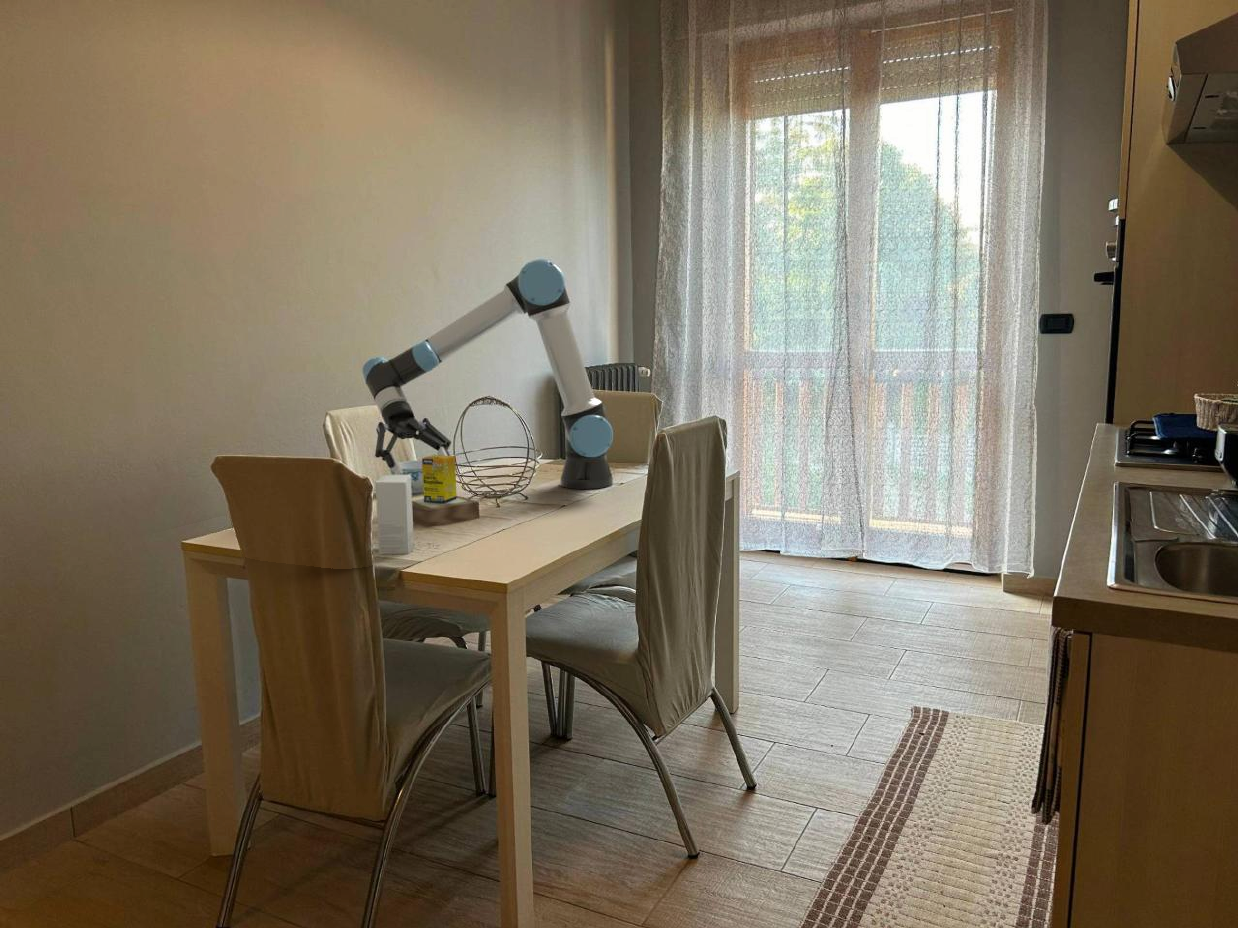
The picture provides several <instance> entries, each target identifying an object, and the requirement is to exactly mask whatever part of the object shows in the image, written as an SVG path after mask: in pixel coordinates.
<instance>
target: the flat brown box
mask: <svg viewBox="0 0 1238 928" xmlns="http://www.w3.org/2000/svg"><path fill="white" fill-rule="evenodd" d="M456 496H457V499H455V500H453V501H450V502H447V503H433V502H424V498H422V499H415V500H412V512H413V523H414V524H418V525H421V526H423V527H426V528H430V527H435V526H436V527H437V526H441V525H442V526H443V525H446V524H452V523H453V524H454V523H458V522H463V521H470V520H476V519H480V502H479V501H478V500H473V499H469V498H467V497H462V496H459V495H456Z"/></svg>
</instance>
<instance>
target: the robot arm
mask: <svg viewBox="0 0 1238 928" xmlns="http://www.w3.org/2000/svg"><path fill="white" fill-rule="evenodd" d="M565 284H566V283H565V277H564V273H563V272H562V270H561V269H560V267H559V266H558V265H556V264H555V263H554V262H553V261H551V260H547V259H542V258H541V259H540V258H539V259H533V260H532V261H529V262H526V264H525V265H524V266H523V267H522V268H521V269H520V272H519V273H518V275H517V276H515V277H514V278H513V279H512V280H510V281H509V282H506V284H504V287H503V290H502V291H500V292H498V293H496V294H495V295H493V296H492V297H491V298H489V299H487V300H486V301H484V302H482V303H481V304H480V305H478V306H476V307H475V308H473V309H472V310H470V311H468V312H467V313H465V314H464V315H463V316H461V317H459V318H458V319H456V320H455V321H453V322H451V323H450V324H448V325H447V326H445V327H443V328H441V329H440V330H439V331H437V332H435V333H433V335H431V336H429V337H428V338H427V339H425V340H423V341H422V342H420V343H419V342H418V343H417V344H415V345H413V346H412V347H410V348H408V349H406V350H405V351H402V352H401V353H399V354H398V355H396V356H394V357H393V358H391V359H386V358H385V357H382V356H377V357H376V358H374V357H373V358H370V359H368V360H367V361H366V362H365V363H364V365H363V366H362V369H361V372H362V375H363V378H364V381H365V384H366V386H367V387H368V389H369V391H370V394H371V396H372V397H373V400H374V402H375V404H376V405H377V406H376V407H377V408H378V410H379V413H380V415H381V417H382V420H383V421H384V423H385V424H384V423H383V422H382V421H379V422H378V423H377V426H376V428H375V430H376V433H377V439H376V446H375V447H376V448H375V453H374V456H375V458H380V457H381V460H382V461H384V462H385V463H386V465H387V466H388V468H389V469H390V468H392V469H393V471H394V473H395V475H403V471H402V469H401V466H400V464H399V462H400V461H399V460H398V458H397V456H396V454H395V452H394V451H392V450H393V448H394V445H395V444H396V442H397V440H398V439H401V440H405V439H415V440H419V441H421V442H423V443H424V444H426V445H427V446H429V447H431V448H432V449H434V450H436V451H437V452H436V453H437V454H436V455H444V456H451V455H450V452H449V448H450V446H451V444H452V441H451V440H450V439H448V437H446V435H444V434H443V433H442V432H441V431H440V430H439V429H437V428H436V427H435V426H434V425H433V424H432V423H431V422H430V421H429V419H428V418H427V417H423V419H422V420H417V419H416V418H415V415H414V412H413V409H412V407H411V405H410V403H409V401H408V399H407V397H406V395H405V393H404V391H403V389H402V387H404V386H406V385H407V384H408V383H410V382H412V381H414V380H415V379H417V378H419V377H421V376H423V375H425V374H426V373H428V372H431V371H432V370H434V369H435V368H437V367H438V366H439V365H440V364H441V363H443V362H444V361H445V360H448V359H449V358H450V357H452V356H454V355H455V354H457V353H458V352H460V351H462V350H463V349H465V348H466V347H468V346H470V345H471V344H473V343H475V341H477V340H479V339H481V338H482V337H484V336H485V335H488V334H489V333H491V332H492V331H493V330H495V329H497V328H498V327H499V326H501V325H503V324H504V323H506V322H508V320H509V321H510V320H511V319H512V318H514V317H515V316H517V315H523V316H524V315H525V314H527V316H528V318H529V319H531V320H533V321H535V323H536V324H537V328H538V331H539V334H540V338H541V340H542V343H543V346H544V349H545V353H546V355H547V358H548V360H549V361H548V362H549V365H550V368H551V369H552V374H553V377H554V379H555V382H556V385H557V389H558V392H559V394H560V398H561V400H562V404H563V409H562V411H561V413H560V416H561V419H562V423H563V425H564V435H565V437H564V440H565V441H564V442H565V460H564V465H563V468H562V471H561V476H560V479H559V480H560V487H563V488H567V489H575V490H576V489H577V490H589V489H592V490H594V489H601V488H602V489H603V488H606V487H607V488H608V487H610V486H612V485H613V484H614V483H613V481H614V479H613V474H612V472H611V467H610V464H609V462H608V460H607V459H608V458H607V451H608V450H609V449H610V448H611V445H612V443H613V439H614V430H613V427H612V425H611V423H610V422H609V420H608V417H607V413H606V409H605V406H604V405H603V401H602V400H600V399H598V398H597V397H596V396H595V394H594V391H593V388H592V385H591V382H590V379H589V376H588V373H587V369H586V366H585V363H584V360H583V358H582V354H581V352H580V351H581V350H580V348H579V345H578V342H577V338H576V336H575V332H574V329H573V326H572V324H571V321H570V317H569V314H568V310H569V307H570V305H571V302H570V299H569V295H568V292H567V290H566V286H565ZM386 432H389V433H391V434H392V436H391V438H390V440H389V442H388V444H387V446H386V448H385V449H384V442H385V435H386ZM417 432H418V433H417Z"/></svg>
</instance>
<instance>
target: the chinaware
mask: <svg viewBox="0 0 1238 928" xmlns="http://www.w3.org/2000/svg"><path fill="white" fill-rule="evenodd" d="M398 462H399V464H400V466H401V469H402V471H403V475H409V474H410V475H411V489H412V494H422V493H423V473H422V459H421V460H418V459H417V460H406V461H398ZM389 470H390V473H391V474H390V475H395V473H394V471H393V469H392V468H389ZM423 494H424V493H423Z"/></svg>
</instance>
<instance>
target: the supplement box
mask: <svg viewBox="0 0 1238 928" xmlns="http://www.w3.org/2000/svg"><path fill="white" fill-rule="evenodd" d="M421 460H422V473H423V499H424V502H433V503H447V502H450V501H453V500H455V499H457V496H458V495H457V475H456V471H457V470H456V456H455V455H450V456H444V455H438V454H432V455H429V456H424V457H421Z"/></svg>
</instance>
